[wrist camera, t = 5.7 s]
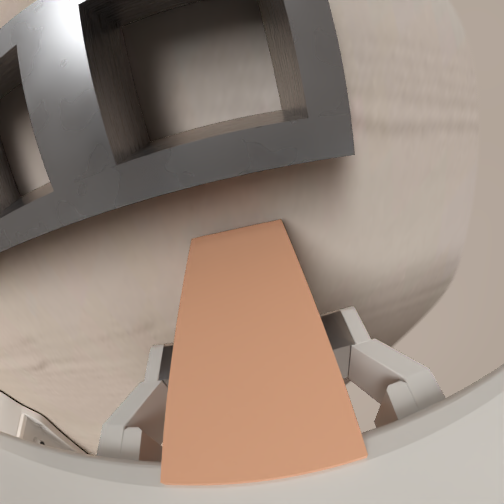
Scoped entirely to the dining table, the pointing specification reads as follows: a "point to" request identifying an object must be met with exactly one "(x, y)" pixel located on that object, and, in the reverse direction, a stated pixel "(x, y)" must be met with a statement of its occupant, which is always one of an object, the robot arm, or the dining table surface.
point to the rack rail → (131, 119)
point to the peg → (252, 369)
